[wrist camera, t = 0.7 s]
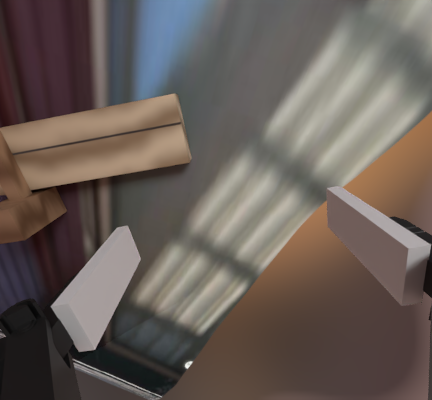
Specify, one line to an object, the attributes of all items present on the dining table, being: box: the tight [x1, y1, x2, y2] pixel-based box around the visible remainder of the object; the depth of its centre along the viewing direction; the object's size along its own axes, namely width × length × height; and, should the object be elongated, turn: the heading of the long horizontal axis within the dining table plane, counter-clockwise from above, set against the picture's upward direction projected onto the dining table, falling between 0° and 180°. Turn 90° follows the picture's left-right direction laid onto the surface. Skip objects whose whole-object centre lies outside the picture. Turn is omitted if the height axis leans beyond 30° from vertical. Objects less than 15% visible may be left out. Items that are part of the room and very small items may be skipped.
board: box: [0, 94, 192, 195], centre depth 37 cm, size 10×34×3 cm, turn 100°
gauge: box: [0, 130, 67, 244], centre depth 35 cm, size 18×6×10 cm, turn 10°
